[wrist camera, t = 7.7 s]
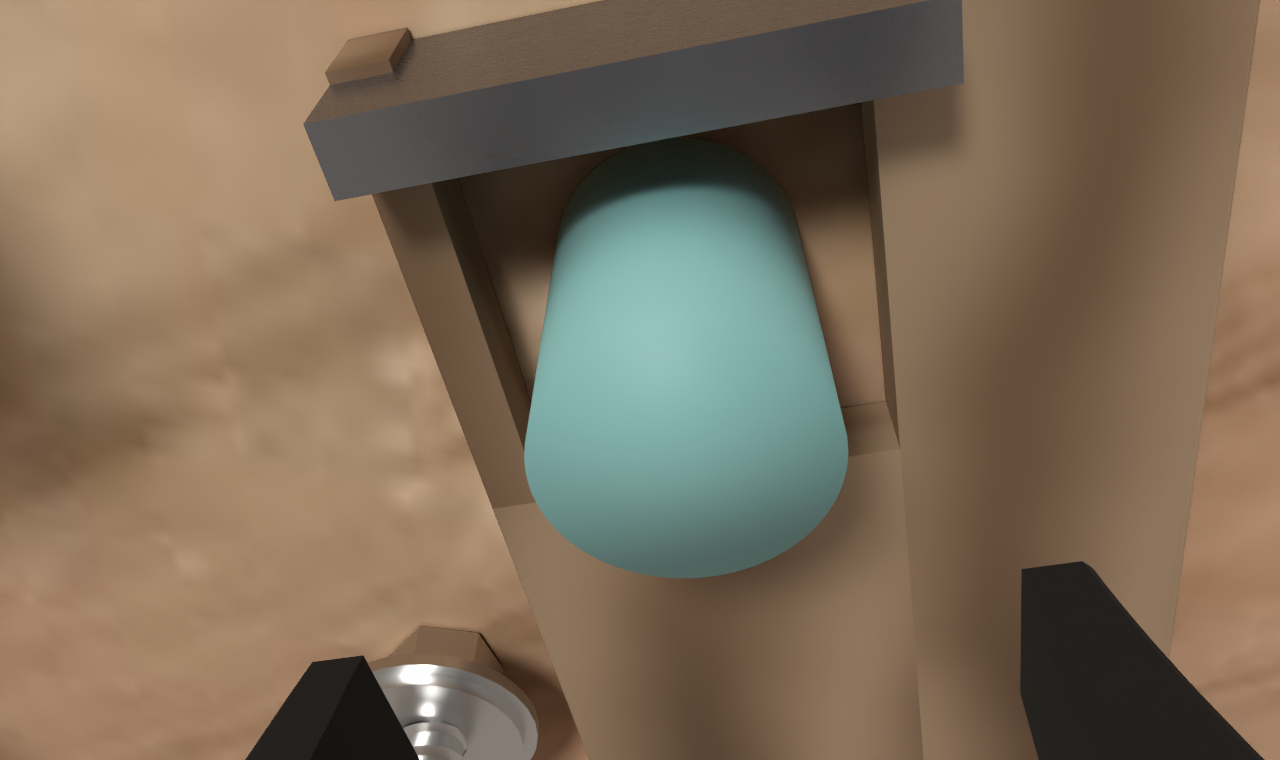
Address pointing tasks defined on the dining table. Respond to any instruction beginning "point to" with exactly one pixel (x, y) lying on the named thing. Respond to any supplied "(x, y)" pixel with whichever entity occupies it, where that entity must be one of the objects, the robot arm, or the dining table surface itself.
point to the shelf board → (918, 402)
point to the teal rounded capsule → (682, 369)
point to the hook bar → (621, 82)
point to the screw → (456, 698)
